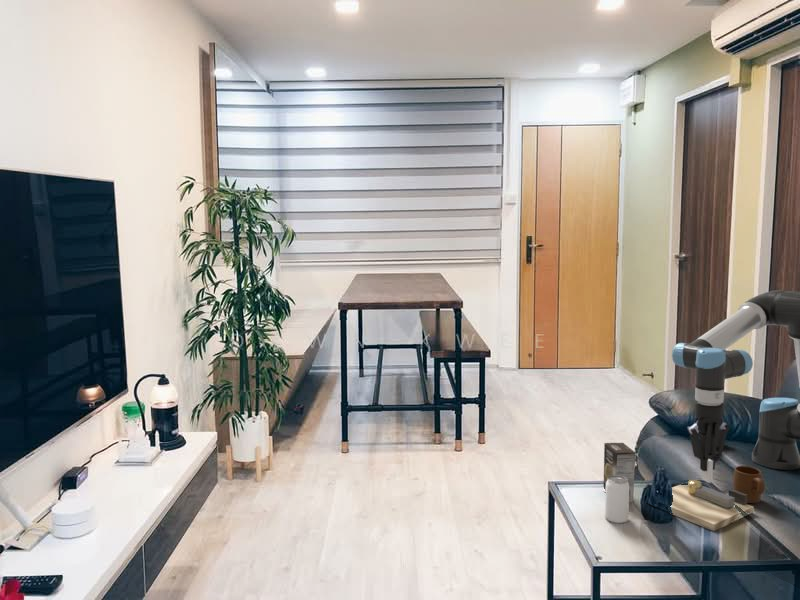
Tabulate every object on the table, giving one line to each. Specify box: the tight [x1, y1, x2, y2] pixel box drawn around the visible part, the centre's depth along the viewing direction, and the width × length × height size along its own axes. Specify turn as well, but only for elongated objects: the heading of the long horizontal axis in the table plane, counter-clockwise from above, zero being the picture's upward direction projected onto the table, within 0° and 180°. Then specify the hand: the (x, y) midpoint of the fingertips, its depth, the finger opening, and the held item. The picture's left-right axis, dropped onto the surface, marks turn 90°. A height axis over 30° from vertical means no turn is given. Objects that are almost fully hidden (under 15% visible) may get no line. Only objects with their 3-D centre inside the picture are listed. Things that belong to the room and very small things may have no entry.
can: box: [604, 476, 630, 524], centre depth 189 cm, size 6×6×12 cm
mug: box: [732, 465, 766, 504], centre depth 199 cm, size 12×8×9 cm, turn 1°
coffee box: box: [603, 442, 636, 503], centre depth 204 cm, size 9×6×16 cm
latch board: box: [670, 484, 755, 532], centre depth 196 cm, size 20×22×5 cm
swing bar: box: [687, 479, 735, 508], centre depth 197 cm, size 14×4×3 cm, turn 30°
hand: (707, 480), depth 190 cm, fingers closed
